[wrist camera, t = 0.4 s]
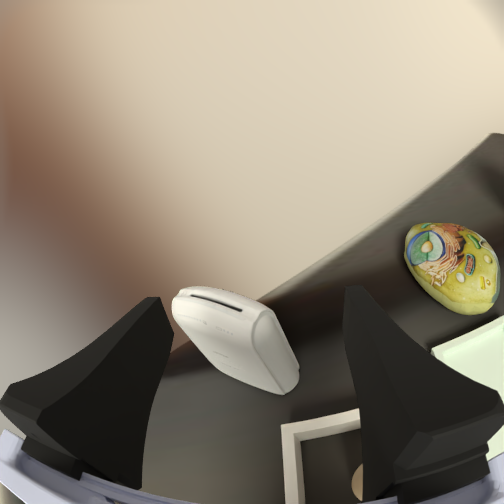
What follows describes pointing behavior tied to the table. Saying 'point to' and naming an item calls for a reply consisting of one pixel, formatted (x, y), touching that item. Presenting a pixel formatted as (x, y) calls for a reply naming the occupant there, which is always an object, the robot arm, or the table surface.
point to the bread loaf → (358, 482)
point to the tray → (479, 364)
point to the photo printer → (238, 337)
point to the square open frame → (307, 431)
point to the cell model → (453, 266)
